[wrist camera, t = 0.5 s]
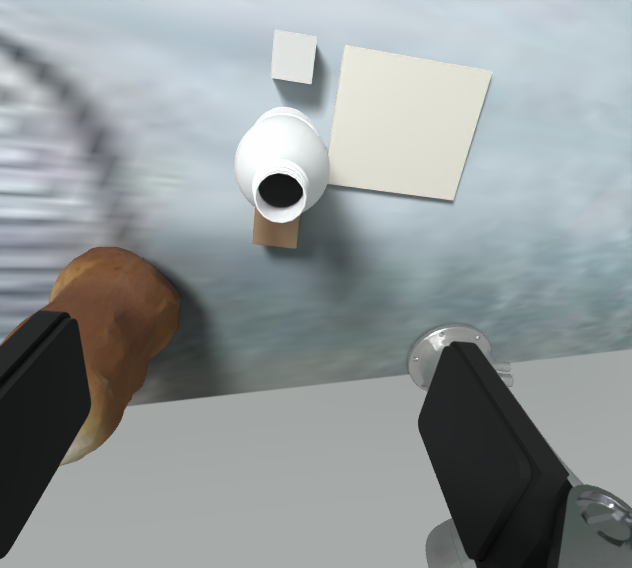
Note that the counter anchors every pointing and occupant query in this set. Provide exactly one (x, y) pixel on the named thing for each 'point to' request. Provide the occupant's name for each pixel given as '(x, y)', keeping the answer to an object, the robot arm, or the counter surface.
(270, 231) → the walnut block
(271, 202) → the water bottle
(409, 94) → the placemat
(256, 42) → the counter surface
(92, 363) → the butternut squash
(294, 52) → the pale grey block
